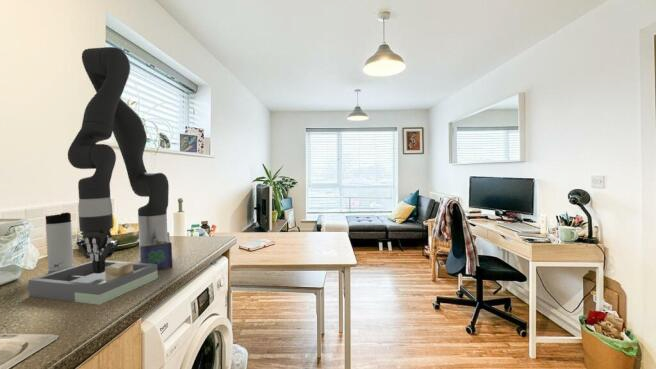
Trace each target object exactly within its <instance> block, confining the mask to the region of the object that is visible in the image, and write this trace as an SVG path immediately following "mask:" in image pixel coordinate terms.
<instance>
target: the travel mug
mask: <svg viewBox="0 0 656 369" xmlns="http://www.w3.org/2000/svg"><path fill="white" fill-rule="evenodd" d="M71 216H72V215H71V212H60V213H59V214H53V215H45V232H46V251H47V252H46V253H47V255H46V256H47V269H48V270H47V271H48V273H47V274H50V273H53V272H57V271H60V270H63V269H67V268H70V267H73V266H75V265H74V250H73V249H74V248H73V228H72V219H71V218H72V217H71Z"/></svg>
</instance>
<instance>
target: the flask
mask: <svg viewBox="0 0 656 369" xmlns="http://www.w3.org/2000/svg"><path fill="white" fill-rule="evenodd" d="M153 241H154V244H146V245H141V246H140V248H139V253H140V252H141V262H140V263H149V264H157V271H159V270H160V271H161V270H168V269H172V268H173V247H172V246H173V245H172V244H173V243H172V242H171V241H170V242H166V241H164V242H163V241H161V242H160V241H158V238H155V239H154V240H153Z"/></svg>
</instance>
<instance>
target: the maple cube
mask: <svg viewBox="0 0 656 369" xmlns="http://www.w3.org/2000/svg"><path fill="white" fill-rule="evenodd" d="M129 262H130V261H122V262H118V263H115V264H112V265H109V266H106V267H105V276H106V282H108V281H110V280H113V279H115V278H118V277H121V276H123V275H126V274H128V273H131V272H133V263H129Z"/></svg>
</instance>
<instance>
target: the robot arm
mask: <svg viewBox="0 0 656 369" xmlns="http://www.w3.org/2000/svg"><path fill="white" fill-rule="evenodd" d="M81 62H82V64H83V67H84V70H85V72H86V74H87V76H88V79H89V81H90V82H91V84H92V86H93V89H94V90H95V92H96V93H95V94H94V95H93V97H92V98H90V100H89V101H88V103H87V105H86V107H85V109H84V112H83V118H82V123H81V127H80V129H79V131H78V133H77V134H76V135H75V137H74V139H73V140H72V142H71V144H70V146H69V148H68V150H67V159H68V162H69V163H70V165H71V166H72V167H74V168H75V169H80V170H94V169H95V171H94V173H93V175H91V176H88V177H83V178H81V179H79V180H78V184H77V186H78V187H77V188H78V204H77V205H78V206H77V207H78V208H77V210H78V225H79V227H78V228H79V232H80V233H81V232H82V233H83V234H82V239H81V240H76V245H77V247H78V248H79V250H80V252H82V255H83V256H84V257H85V259H89V260H90V261H92V263H93V271H94V273H97V274H100V273H102V272H104V271H105V260H107V258H111V257H112V255H113V254H114V252H115V250H116V249H117V247H118V245H119V244H120V241H119V240H114V239H113V236H112V233H111V229H113V227H114V220H113V219H114V218H113V203H112V199H111V186H110V185H111V180H112V175H113V172H114V168H115V166H116V162H117V155H116V152H115V150H114V149H113V148H112V146H111V145H110V144H109V145H108V144H105V143H99V142H104V141H107V140H109V139H110V138H111V137H112V134H113V137H114V139H115V141H116V143H117V145H118V149H119V151H120V153H121V157H122V159H123V163H124V165H125V169H126V173H127V176H128V180H129V181H128V182H129V185H130V187H131V190H132V192H133V193H134V194H135V196H136V195H137V196H139V197H141V198H143V197H144V198H145V197H146V198H147V197H148V203H146V204H145V205H144V206H140V207H139V208H137V209H138V210H137V219H138V220H137V221H138V243H139V245H138V246H139V249H140V246H141V245H146V244H154V241H153V240H154V239H155V238H158V241H160V242H161V241H163V242H164V241H166V242H171V241H170V240H171V238H170V232H169V231H168V217H167V214H168V213H167V210H168V207H169V190H170V189H169V188H170V186H169V180H168V177H167V175H165V174H164V173H163V172H156V171H154V172H151V171H150V172H148V171H147V168H146V166H145V164H144V152H145V149H146V145H147V141H148V140H147V139H148V138H147V137H148V136H147V132H146V130H145V126H144V123H143V121H142V118H141V117H140V115H139V114H138V113H137V112H136V111H135V110H134V109H133V108H132V107H131V106H130V105H129V104H128V103H127V102H126V101H124V99H122V95H123V92H124V90H125V88H126V85H127V82H128V79H129V77H130V74H131V63H130V62H131V61H130V60H129V57H128V56H127V54H126V53H125V51H123V50H122V49H121V48H119V47H113V46H105V47H92V48H91V47H90V48H86V49H84V50H82V53H81ZM139 263H141V252H140V251H139Z"/></svg>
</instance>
